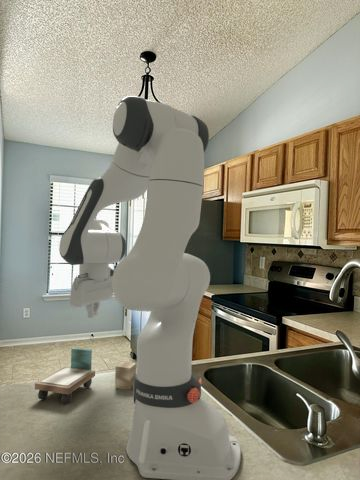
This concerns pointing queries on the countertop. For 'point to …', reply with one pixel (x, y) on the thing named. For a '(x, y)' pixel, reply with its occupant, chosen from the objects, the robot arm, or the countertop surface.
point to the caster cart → (68, 376)
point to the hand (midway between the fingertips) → (92, 316)
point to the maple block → (125, 375)
